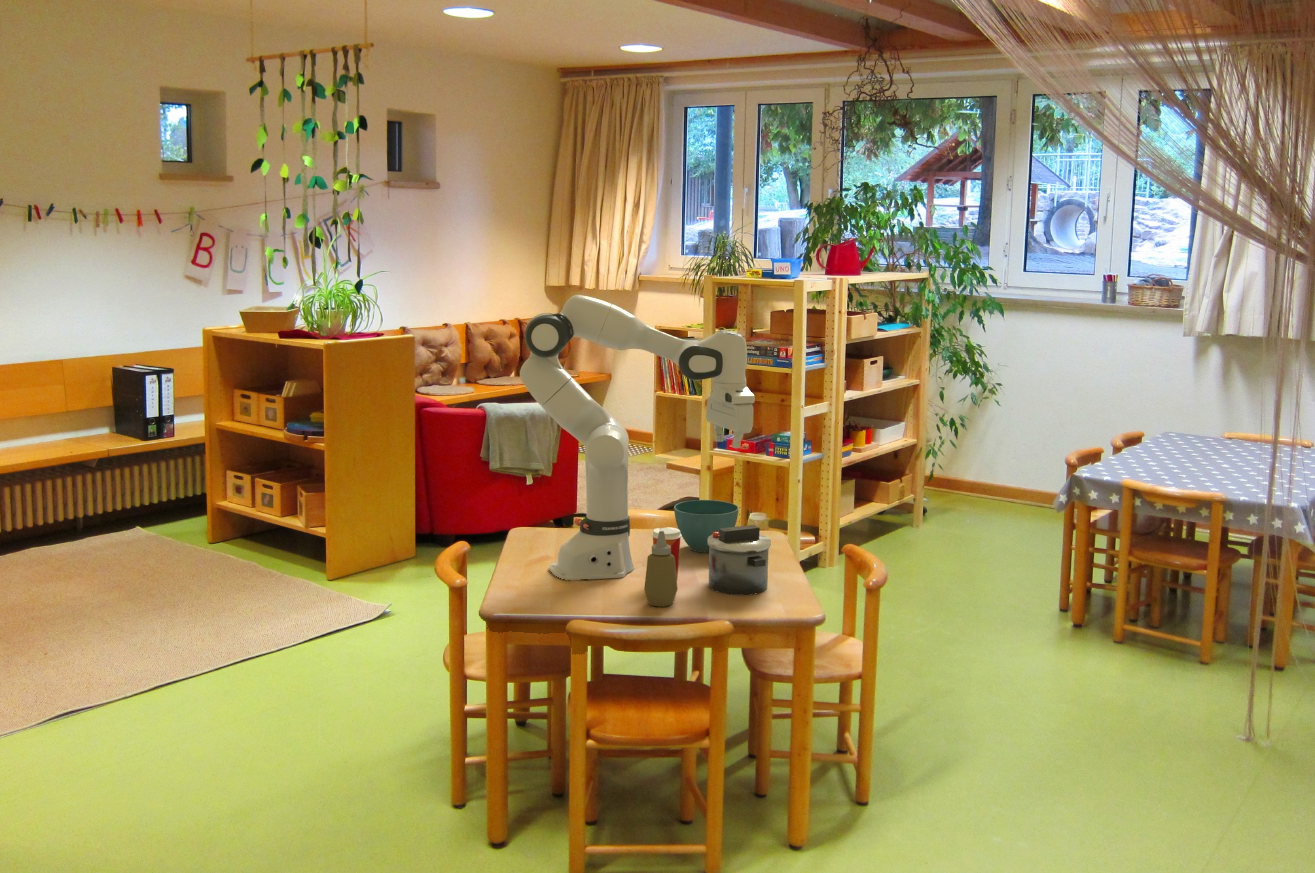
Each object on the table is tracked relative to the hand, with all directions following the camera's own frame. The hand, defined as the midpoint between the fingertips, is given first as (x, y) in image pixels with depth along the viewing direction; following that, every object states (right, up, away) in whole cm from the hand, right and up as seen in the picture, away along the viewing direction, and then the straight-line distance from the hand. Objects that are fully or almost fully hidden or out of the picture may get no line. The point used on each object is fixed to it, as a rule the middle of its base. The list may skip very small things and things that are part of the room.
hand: (727, 444), depth 306 cm
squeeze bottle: (-18, -39, -24) cm, 49 cm away
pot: (+2, -36, -10) cm, 37 cm away
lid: (+2, -25, -12) cm, 28 cm away
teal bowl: (-5, -30, +24) cm, 39 cm away
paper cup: (-16, -36, -9) cm, 40 cm away
